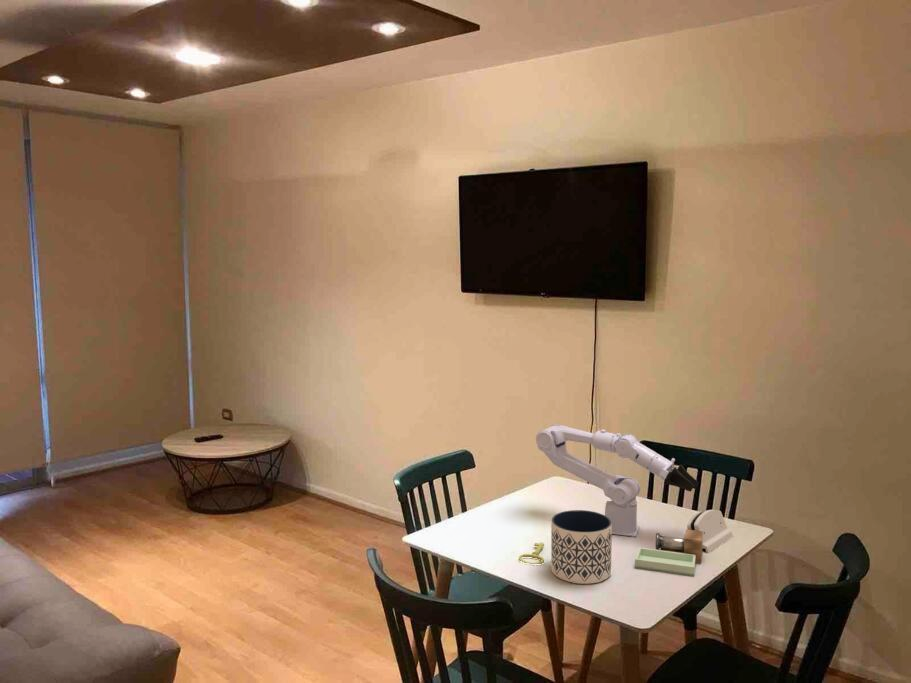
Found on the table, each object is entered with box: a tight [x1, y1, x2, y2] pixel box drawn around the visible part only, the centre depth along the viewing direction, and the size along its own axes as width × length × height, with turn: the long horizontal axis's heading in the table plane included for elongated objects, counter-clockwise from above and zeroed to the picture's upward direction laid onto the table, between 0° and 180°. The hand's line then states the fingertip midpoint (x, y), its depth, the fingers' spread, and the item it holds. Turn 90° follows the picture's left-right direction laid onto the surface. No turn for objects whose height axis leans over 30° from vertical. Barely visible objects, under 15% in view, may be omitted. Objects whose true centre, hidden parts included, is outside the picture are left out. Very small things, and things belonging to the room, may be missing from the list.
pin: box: [654, 532, 685, 551], centre depth 204 cm, size 11×5×5 cm, turn 69°
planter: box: [550, 509, 613, 585], centre depth 195 cm, size 16×16×14 cm
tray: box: [634, 547, 697, 577], centre depth 198 cm, size 15×8×2 cm, turn 69°
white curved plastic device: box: [686, 509, 734, 554], centre depth 214 cm, size 17×5×10 cm, turn 135°
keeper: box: [659, 528, 703, 565], centre depth 204 cm, size 11×7×7 cm, turn 69°
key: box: [518, 542, 545, 564], centre depth 206 cm, size 7×12×2 cm, turn 174°
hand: (694, 487), depth 209 cm, fingers open, 7 cm apart
